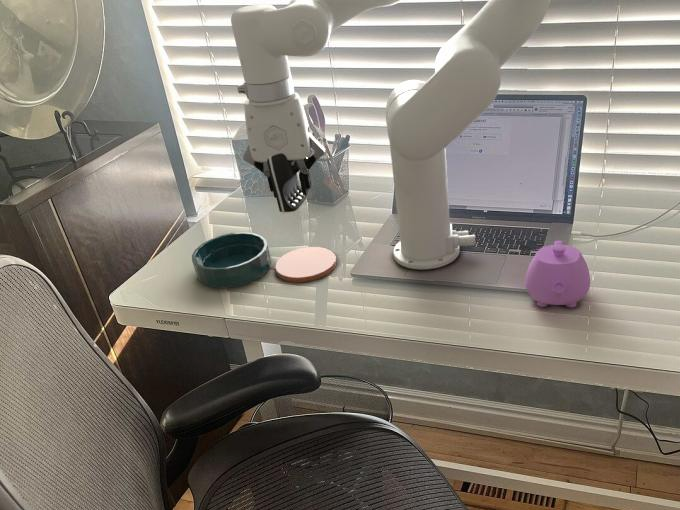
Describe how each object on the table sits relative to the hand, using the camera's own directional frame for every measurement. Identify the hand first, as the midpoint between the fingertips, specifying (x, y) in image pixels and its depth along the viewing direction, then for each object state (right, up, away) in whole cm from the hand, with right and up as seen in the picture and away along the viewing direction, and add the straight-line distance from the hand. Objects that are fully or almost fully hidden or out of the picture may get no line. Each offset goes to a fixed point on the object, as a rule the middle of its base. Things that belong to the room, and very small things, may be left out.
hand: (292, 192), depth 122 cm
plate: (+1, -12, +9) cm, 15 cm away
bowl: (-13, -13, +10) cm, 21 cm away
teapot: (+45, -20, -8) cm, 50 cm away
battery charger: (+1, -2, +2) cm, 3 cm away
